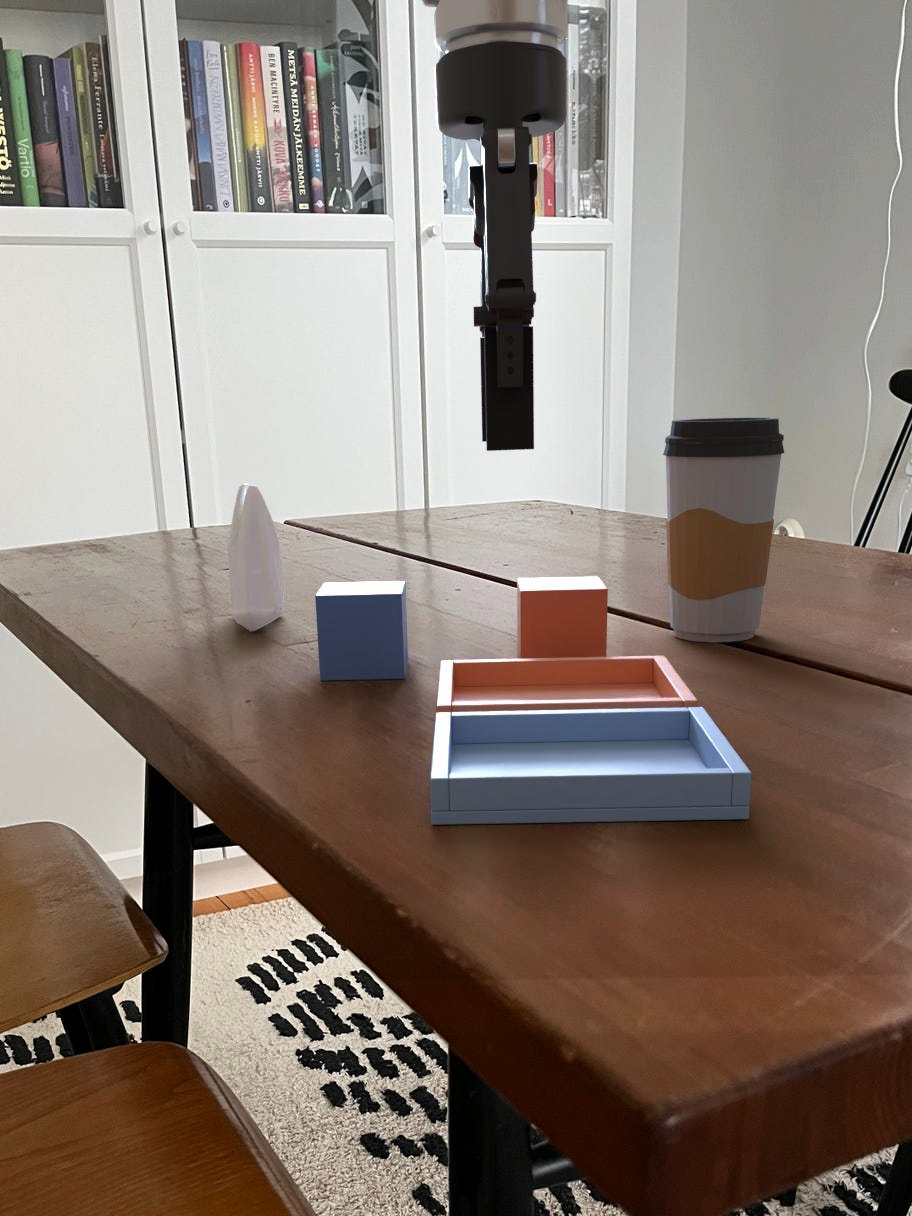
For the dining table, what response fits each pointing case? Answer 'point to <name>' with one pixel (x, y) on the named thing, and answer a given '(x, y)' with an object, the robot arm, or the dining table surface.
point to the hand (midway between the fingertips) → (505, 445)
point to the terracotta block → (561, 617)
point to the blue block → (362, 630)
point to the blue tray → (584, 767)
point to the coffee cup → (720, 523)
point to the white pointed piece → (254, 562)
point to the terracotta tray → (561, 684)
